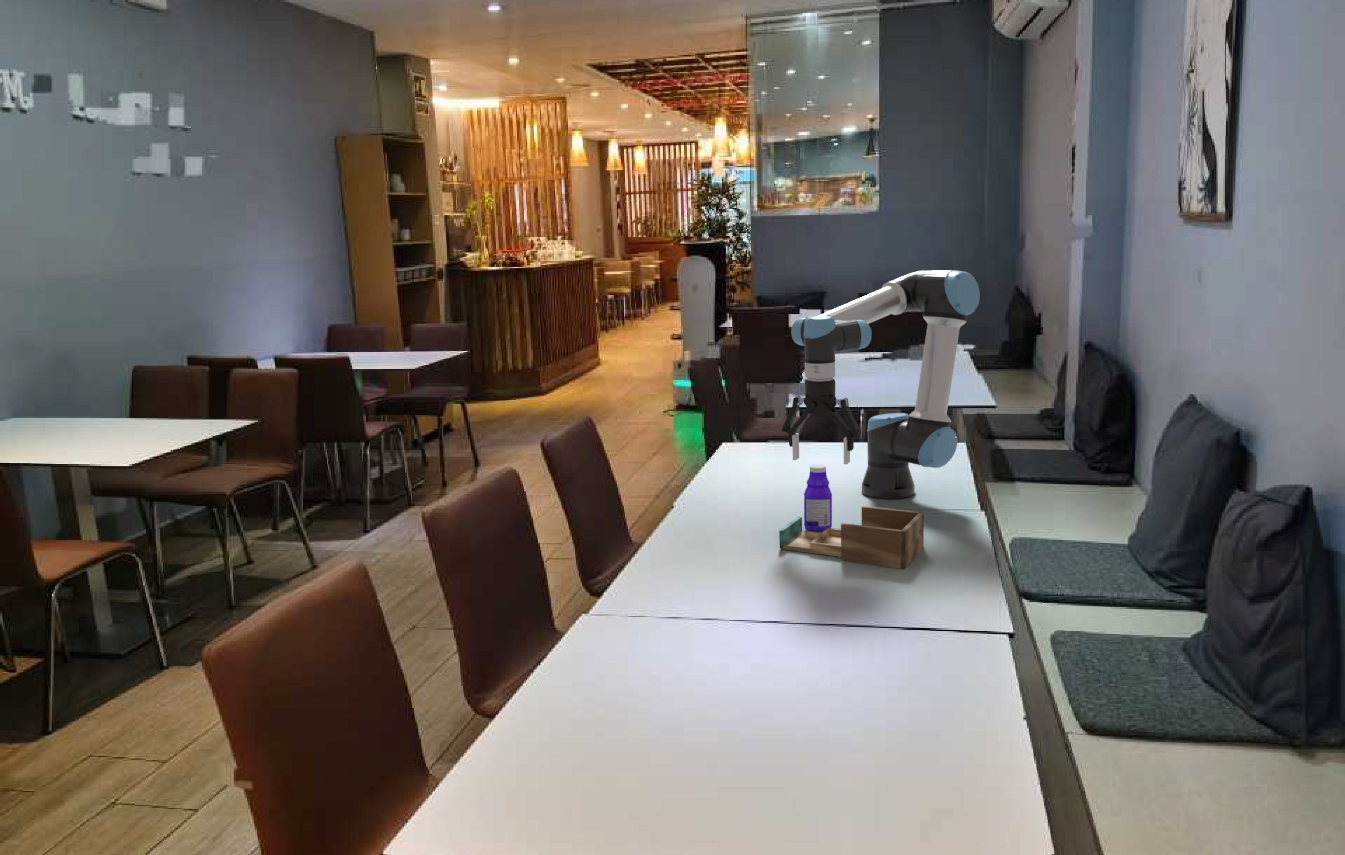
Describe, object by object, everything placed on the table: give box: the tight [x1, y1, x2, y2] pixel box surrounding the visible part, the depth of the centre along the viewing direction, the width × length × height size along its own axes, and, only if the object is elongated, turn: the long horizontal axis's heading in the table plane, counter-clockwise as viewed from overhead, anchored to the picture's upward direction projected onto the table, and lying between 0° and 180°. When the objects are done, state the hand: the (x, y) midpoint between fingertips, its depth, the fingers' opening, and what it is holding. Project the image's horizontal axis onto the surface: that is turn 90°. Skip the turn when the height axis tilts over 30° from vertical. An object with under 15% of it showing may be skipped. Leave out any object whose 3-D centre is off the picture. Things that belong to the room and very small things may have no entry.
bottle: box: [803, 463, 833, 533], centre depth 249 cm, size 7×6×17 cm
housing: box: [840, 505, 925, 570], centre depth 230 cm, size 16×15×9 cm
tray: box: [778, 516, 841, 558], centre depth 237 cm, size 12×21×5 cm, turn 61°
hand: (821, 461), depth 246 cm, fingers open, 13 cm apart
